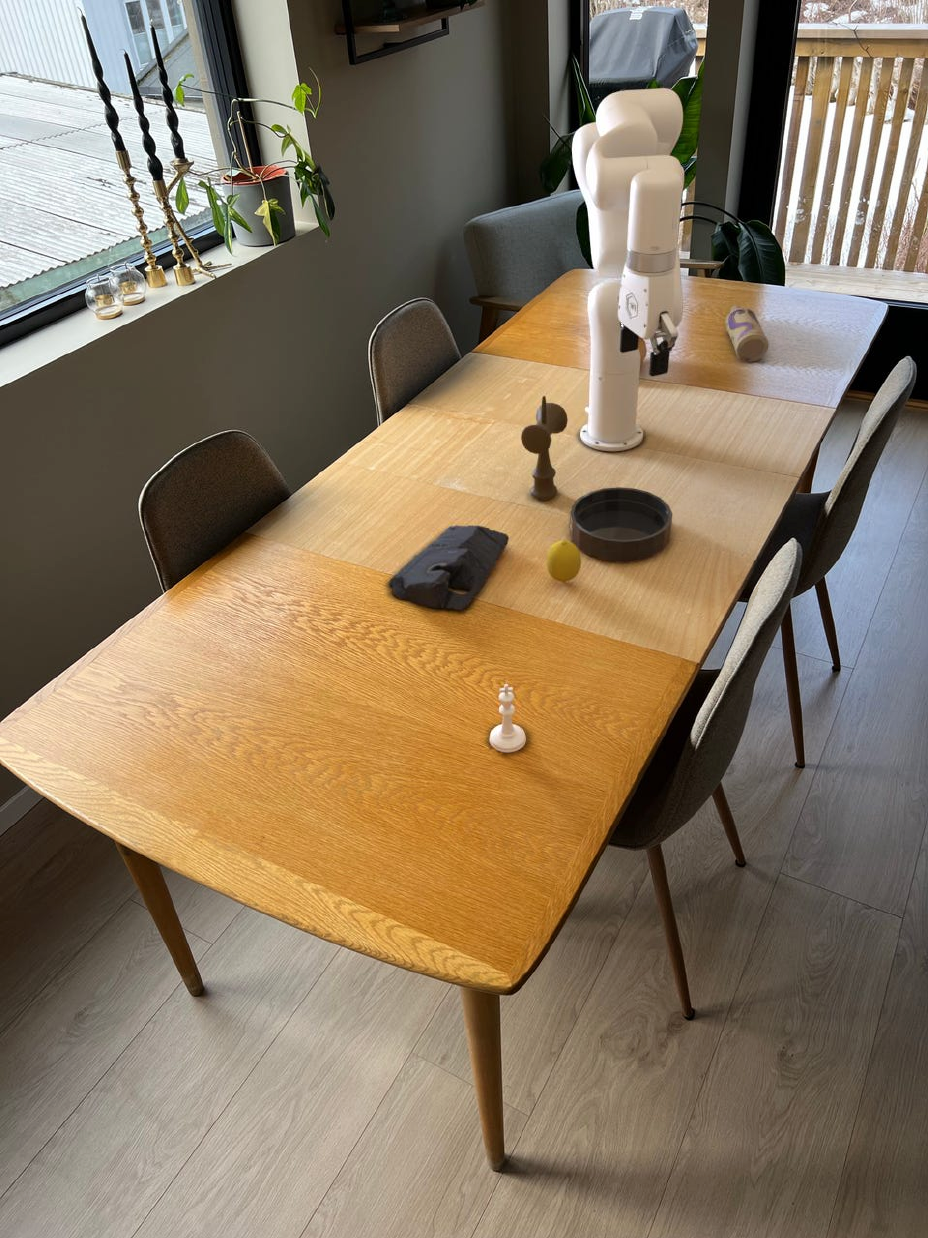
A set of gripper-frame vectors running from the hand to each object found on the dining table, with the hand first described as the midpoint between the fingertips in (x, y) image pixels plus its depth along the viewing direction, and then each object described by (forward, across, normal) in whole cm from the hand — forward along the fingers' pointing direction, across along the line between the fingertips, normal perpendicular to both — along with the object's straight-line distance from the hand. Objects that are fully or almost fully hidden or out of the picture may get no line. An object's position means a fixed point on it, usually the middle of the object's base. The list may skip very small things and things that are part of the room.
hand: (643, 362), depth 160 cm
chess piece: (+26, +46, -44) cm, 69 cm away
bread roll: (+29, -51, +26) cm, 64 cm away
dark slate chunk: (+27, +6, -37) cm, 46 cm away
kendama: (+28, -10, -13) cm, 32 cm away
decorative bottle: (+29, -52, +59) cm, 84 cm away
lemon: (+27, +17, -22) cm, 39 cm away
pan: (+27, +8, -7) cm, 29 cm away
